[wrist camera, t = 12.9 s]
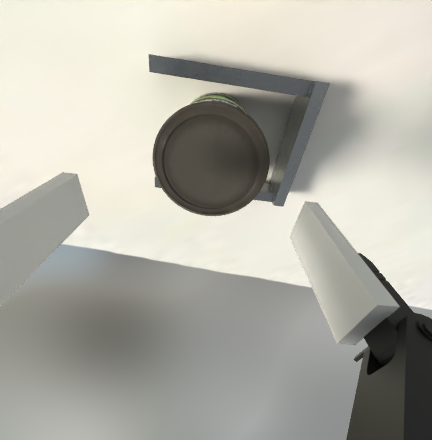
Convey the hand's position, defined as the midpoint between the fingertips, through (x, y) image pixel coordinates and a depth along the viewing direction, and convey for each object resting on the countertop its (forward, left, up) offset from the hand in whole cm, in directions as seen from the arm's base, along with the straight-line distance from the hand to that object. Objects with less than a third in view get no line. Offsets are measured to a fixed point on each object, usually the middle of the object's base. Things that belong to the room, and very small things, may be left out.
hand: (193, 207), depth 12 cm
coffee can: (0, +1, -21) cm, 21 cm away
